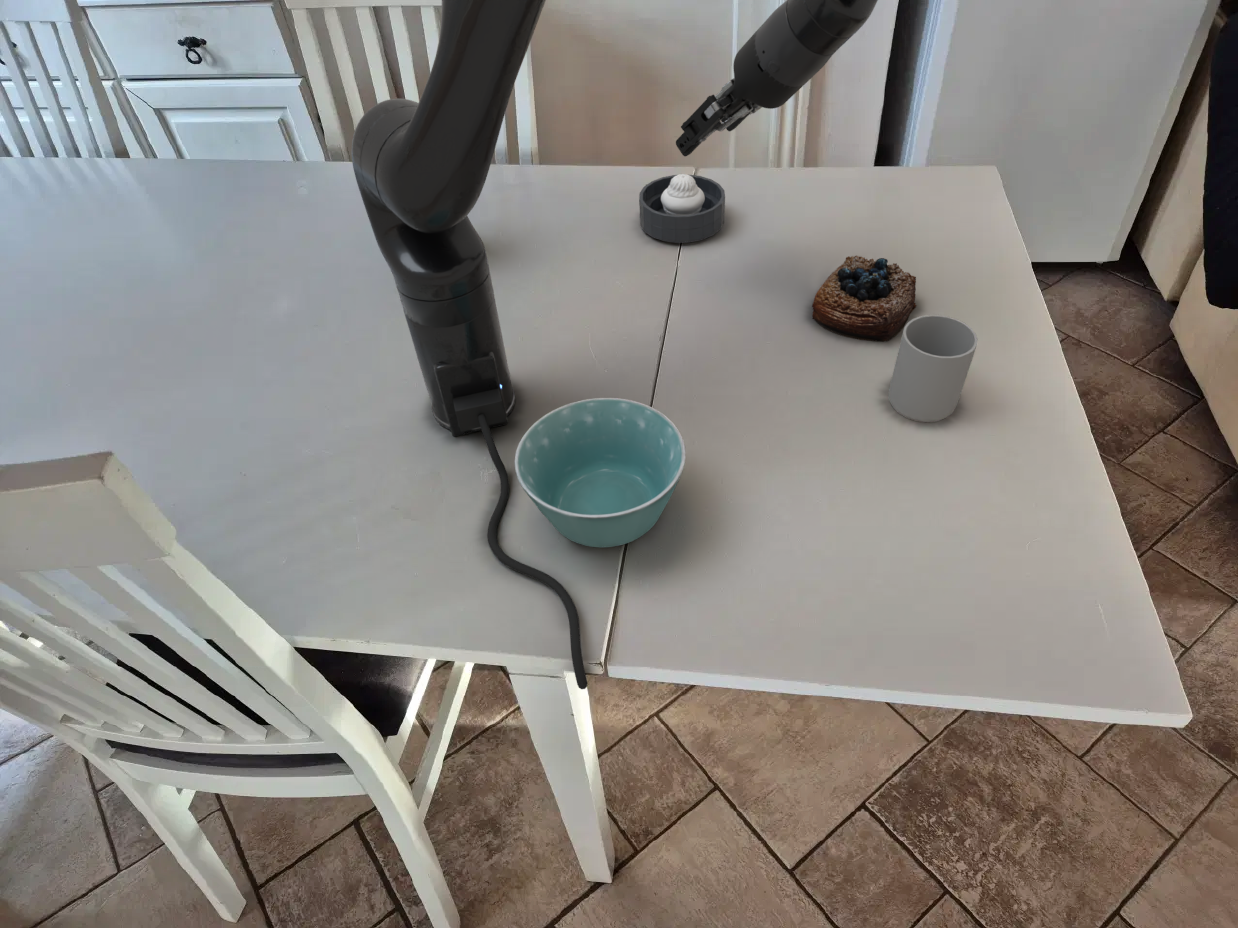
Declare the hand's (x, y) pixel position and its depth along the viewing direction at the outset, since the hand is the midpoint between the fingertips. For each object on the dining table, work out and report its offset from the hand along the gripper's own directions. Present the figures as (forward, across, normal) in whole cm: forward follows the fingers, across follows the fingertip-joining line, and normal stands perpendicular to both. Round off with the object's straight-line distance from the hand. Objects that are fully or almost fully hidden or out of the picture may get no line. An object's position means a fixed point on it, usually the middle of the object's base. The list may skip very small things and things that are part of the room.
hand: (703, 136), depth 100 cm
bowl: (-3, +42, +28) cm, 50 cm away
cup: (-13, +7, +39) cm, 41 cm away
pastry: (-4, -2, +29) cm, 29 cm away
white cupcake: (+17, -4, +6) cm, 18 cm away
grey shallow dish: (+17, -4, +6) cm, 18 cm away
